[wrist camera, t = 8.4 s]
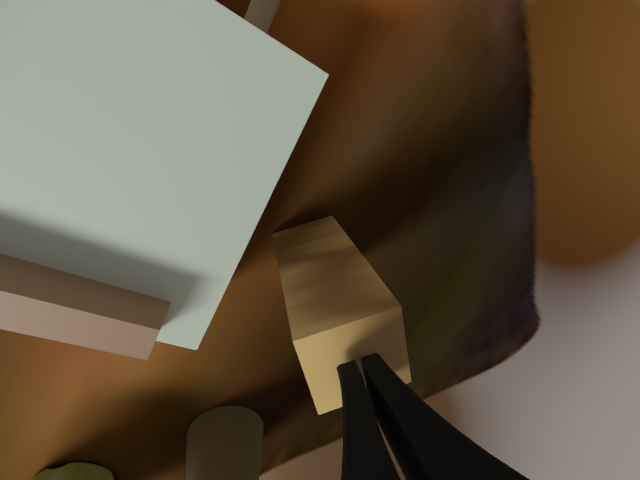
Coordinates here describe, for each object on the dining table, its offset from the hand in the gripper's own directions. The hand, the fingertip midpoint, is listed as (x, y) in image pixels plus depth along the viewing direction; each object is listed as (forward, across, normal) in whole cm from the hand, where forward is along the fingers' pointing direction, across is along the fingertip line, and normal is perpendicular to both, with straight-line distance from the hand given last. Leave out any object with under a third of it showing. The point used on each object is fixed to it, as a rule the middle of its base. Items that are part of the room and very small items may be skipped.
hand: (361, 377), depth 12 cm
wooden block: (+10, 0, 0) cm, 10 cm away
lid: (+6, +7, -9) cm, 13 cm away
